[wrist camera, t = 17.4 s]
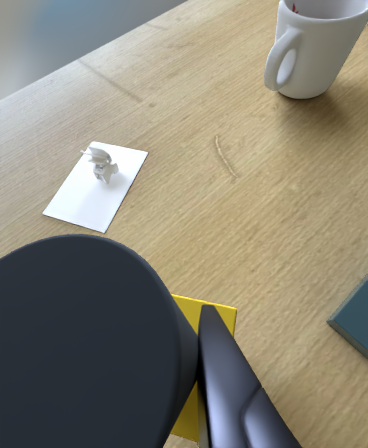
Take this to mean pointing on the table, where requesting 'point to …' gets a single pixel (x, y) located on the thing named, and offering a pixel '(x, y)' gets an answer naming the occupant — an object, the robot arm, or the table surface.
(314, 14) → the cup
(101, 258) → the sponge wand
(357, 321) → the plate
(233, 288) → the table surface
